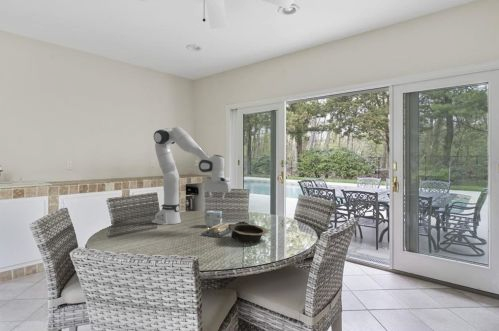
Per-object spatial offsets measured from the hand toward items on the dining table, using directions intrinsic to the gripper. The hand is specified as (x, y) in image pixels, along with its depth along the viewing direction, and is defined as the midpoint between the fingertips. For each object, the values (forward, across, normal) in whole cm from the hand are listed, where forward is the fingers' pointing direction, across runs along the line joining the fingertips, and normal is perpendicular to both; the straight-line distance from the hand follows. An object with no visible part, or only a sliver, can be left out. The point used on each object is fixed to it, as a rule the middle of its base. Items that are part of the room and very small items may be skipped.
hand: (216, 197), depth 203 cm
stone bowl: (+21, +31, -13) cm, 40 cm away
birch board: (+20, +7, -7) cm, 23 cm away
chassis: (+22, +7, -7) cm, 24 cm away
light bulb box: (+22, -6, +8) cm, 24 cm away
